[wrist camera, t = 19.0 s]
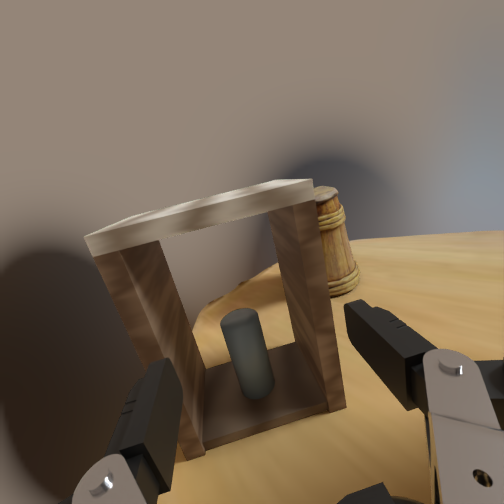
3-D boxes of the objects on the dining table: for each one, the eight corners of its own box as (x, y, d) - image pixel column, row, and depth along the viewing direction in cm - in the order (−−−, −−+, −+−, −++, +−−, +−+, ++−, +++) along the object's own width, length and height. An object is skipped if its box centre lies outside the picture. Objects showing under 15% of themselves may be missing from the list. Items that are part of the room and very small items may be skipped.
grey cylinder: (263, 364, 42) (247, 304, 38) (281, 385, 37) (265, 318, 34) (235, 382, 40) (214, 320, 36) (251, 406, 35) (229, 337, 31)
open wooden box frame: (308, 342, 46) (276, 179, 37) (346, 407, 33) (312, 178, 24) (194, 377, 45) (131, 215, 35) (187, 460, 31) (83, 236, 22)
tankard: (366, 268, 69) (358, 178, 62) (345, 315, 52) (329, 198, 44) (306, 266, 80) (293, 189, 72) (271, 305, 62) (249, 209, 55)
